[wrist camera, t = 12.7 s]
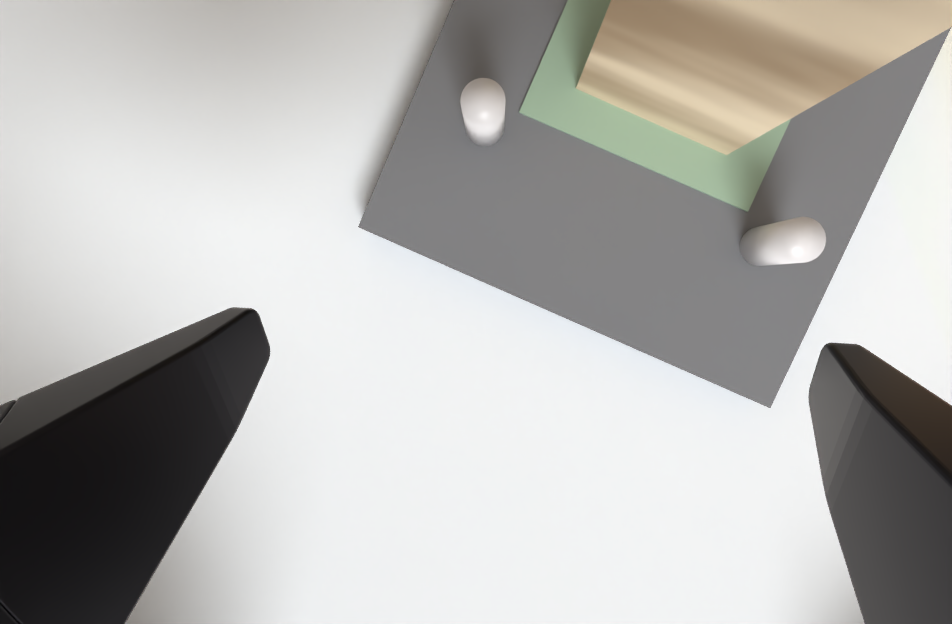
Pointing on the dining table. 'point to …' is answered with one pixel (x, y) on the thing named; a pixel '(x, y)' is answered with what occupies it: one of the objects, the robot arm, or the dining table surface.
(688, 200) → the plate
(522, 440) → the dining table surface
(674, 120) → the maple block
